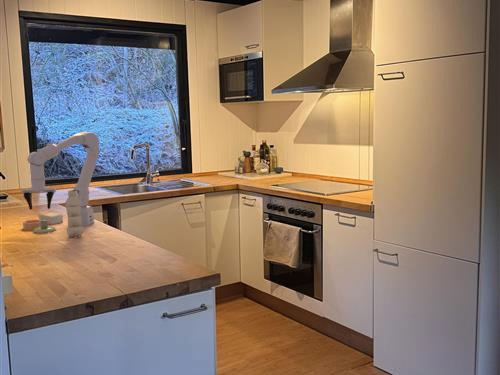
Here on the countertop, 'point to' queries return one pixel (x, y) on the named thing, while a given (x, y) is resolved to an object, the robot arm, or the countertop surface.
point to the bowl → (31, 224)
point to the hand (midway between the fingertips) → (40, 208)
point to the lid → (44, 227)
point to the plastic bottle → (74, 214)
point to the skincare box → (51, 217)
